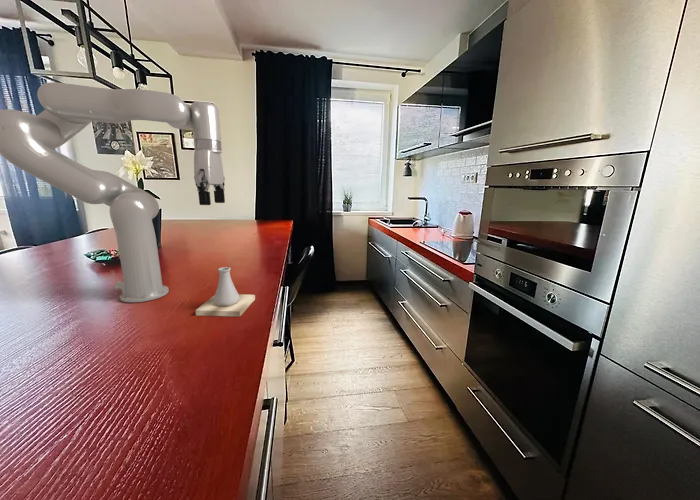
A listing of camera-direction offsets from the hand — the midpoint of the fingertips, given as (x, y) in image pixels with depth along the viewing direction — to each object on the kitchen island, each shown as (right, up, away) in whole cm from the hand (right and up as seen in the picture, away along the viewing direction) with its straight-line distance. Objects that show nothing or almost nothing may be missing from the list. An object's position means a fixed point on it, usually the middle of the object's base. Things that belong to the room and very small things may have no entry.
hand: (212, 203), depth 93 cm
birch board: (+8, -31, -8) cm, 33 cm away
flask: (+8, -30, -9) cm, 32 cm away
